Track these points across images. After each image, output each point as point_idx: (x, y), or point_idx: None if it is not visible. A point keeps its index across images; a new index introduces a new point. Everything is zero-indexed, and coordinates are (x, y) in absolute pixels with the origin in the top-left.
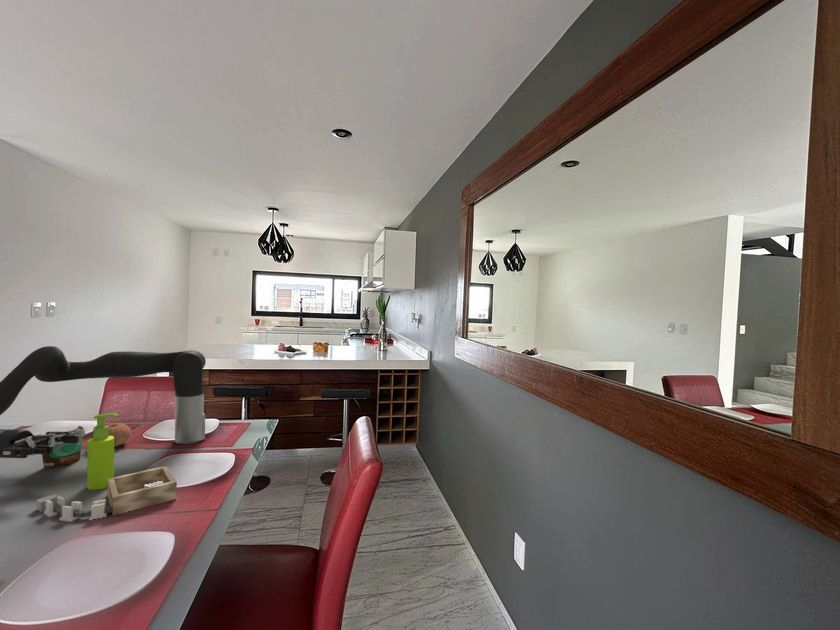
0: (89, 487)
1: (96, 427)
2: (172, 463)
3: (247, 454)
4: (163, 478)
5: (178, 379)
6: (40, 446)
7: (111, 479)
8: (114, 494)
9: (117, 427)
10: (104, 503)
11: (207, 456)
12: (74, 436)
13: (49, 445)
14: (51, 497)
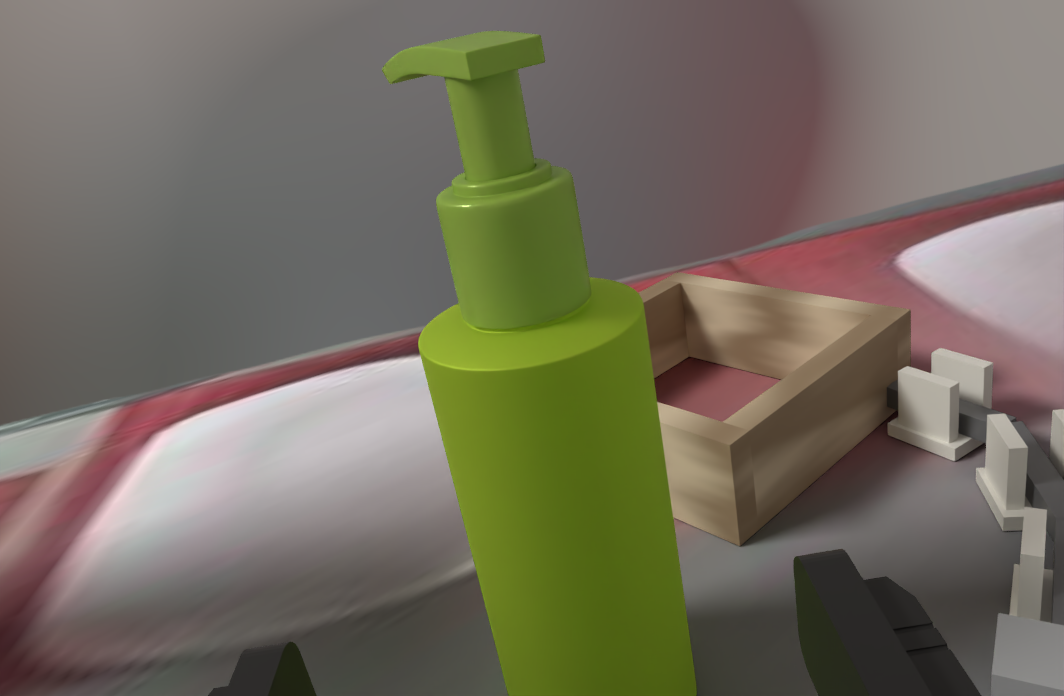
0: (692, 690)
1: (549, 173)
2: (237, 558)
3: (210, 387)
4: None
5: None
6: (912, 669)
7: (732, 424)
8: (881, 322)
9: None
10: (933, 352)
11: (173, 482)
12: (284, 667)
13: (813, 579)
14: (1047, 648)
